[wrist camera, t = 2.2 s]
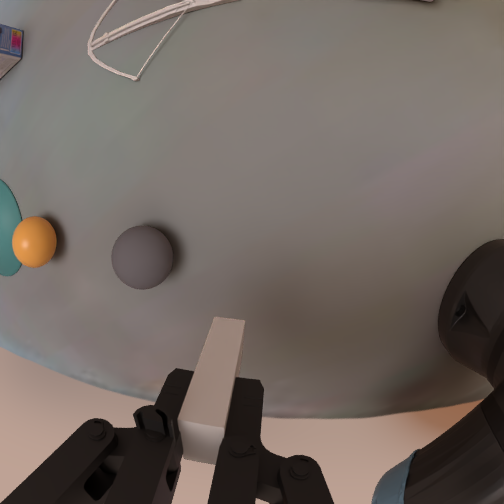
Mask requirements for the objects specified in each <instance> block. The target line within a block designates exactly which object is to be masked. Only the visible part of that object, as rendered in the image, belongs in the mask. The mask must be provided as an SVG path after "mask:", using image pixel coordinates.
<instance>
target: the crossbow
mask: <svg viewBox="0 0 504 504" xmlns="http://www.w3.org/2000/svg"><path fill="white" fill-rule="evenodd" d="M117 1H118V0H113V1H112V3H111V4H110V5H109V7H108V8H107V9H106V11H105V12H104V13H103V15H102V16H101V18H100V19H99V21H98V23H97V24H96V26H95V28H94V29H93V31H92V33H91V36H90V39H89V40H88V44H87V45H88V55H89V56H90V57H91V58H92V60H93V61H94V62H96V63H97V64H99V65H100V66H102V67H103V68H105V69H107V70H110V71H112V72H114V73H116V74H118V75H122V76H125V77H128V78H131V79H132V80H133V81H138V80H140V79H139V78H137V77H138V76H139V74H140V73H141V71H142V70H143V68H144V67H145V65H146V63H147V62H148V61H149V59H150V58H151V56H152V55H153V53H154V52H155V50H156V49H157V48H158V46H159V45H160V43H161V42H162V41H163V39H164V38H165V37H166V35H167V34H168V33H169V31H170V30H171V29H172V27H173V26H174V25H175V24H176V22H177V21H178V20H179V19H180V17H181V16H182V15H183V14H184V13H187V12H191V11H194V10H195V11H196V10H199V9H202V8H207V7H211V6H215V5H220V4H224V3H229V2H234V1H239V0H184V1H183V2H180V3H177V4H173V5H170V6H167V7H165V8H163V9H161V10H158V11H156V12H153V13H151V14H148V15H146V16H144V17H141V18H139V19H137V20H134V21H132V22H130V23H128V24H126V25H124V26H122V27H120V28H118V29H116V30H114V31H112V32H110V33H108V32H107V33H105V34H104V36H102V37H100V38H98V39H97V40H95V41H93V37H94V35H95V32H96V30H97V28H98V27H99V25H100V23H101V22H102V20H103V19H104V17H105V16H106V15H107V13H108V12H109V11H110V9H111V8H112V7H113V6H114V4H115V3H116V2H117ZM179 15H181V16H180V17H179V18H178V19H177V21H176V22H175V23H174V24H173V26H172V27H171V28H170V29H169V31H168V32H167V33H166V35H165V36H164V37H163V39H162V40H161V42H160V43H159V44H158V46H157V47H156V48H155V50H154V51H153V53H152V54H151V56H150V57H149V59H148V60H147V62H146V63H145V65H144V66H143V68H142V69H141V71H140V72H139V74H138V75H137V77H134V76H131V75H128V74H125V73H122V72H120V71H118V70H115V69H113V68H111V67H109V66H107V65H106V64H104V63H103V62H101V61H99V60H98V59H97V58H96V57H95V55H94V53H93V50H95V49H97V48H99V47H101V46H103V45H105V44H107V43H109V42H111V41H113V40H116V39H118V38H120V37H122V36H125V35H127V34H129V33H132V32H134V31H137V30H139V29H142V28H144V27H147V26H149V25H152V24H155V23H158V22H160V21H163V20H166V19H169V18H172V17H175V16H179ZM92 41H93V42H92Z"/></svg>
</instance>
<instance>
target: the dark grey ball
mask: <svg viewBox="0 0 504 504" xmlns="http://www.w3.org/2000/svg"><path fill="white" fill-rule="evenodd" d="M172 264H173V251H172V247H171V245H170V243H169V241H168V239H167V238H166V237H165V236H164V235H163V234H162V233H161V232H160V231H159V230H157V229H155V228H153V227H149V226H135V227H132V228H130V229H128V230H126V231H125V232H123V233H122V234H121V235H120V236H119V237H118V239H117V240H116V242H115V244H114V246H113V250H112V265H113V269H114V271H115V273H116V275H117V276H118V278H119V279H120V280H121V281H122V282H123V283H124V284H126V285H128V286H130V287H132V288H135V289H150V288H153V287H155V286H157V285H159V284H160V283H162V282H163V281H164V280H165V279H166V277H167V276H168V274H169V273H170V271H171V268H172Z"/></svg>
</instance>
